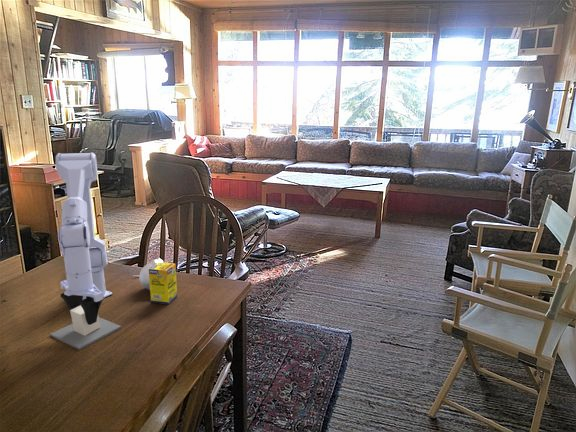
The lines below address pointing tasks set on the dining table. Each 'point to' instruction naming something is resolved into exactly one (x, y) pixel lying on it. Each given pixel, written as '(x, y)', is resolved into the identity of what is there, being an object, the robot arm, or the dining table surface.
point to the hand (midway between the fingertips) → (84, 319)
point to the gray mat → (82, 341)
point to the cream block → (82, 321)
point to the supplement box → (163, 282)
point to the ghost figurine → (147, 273)
